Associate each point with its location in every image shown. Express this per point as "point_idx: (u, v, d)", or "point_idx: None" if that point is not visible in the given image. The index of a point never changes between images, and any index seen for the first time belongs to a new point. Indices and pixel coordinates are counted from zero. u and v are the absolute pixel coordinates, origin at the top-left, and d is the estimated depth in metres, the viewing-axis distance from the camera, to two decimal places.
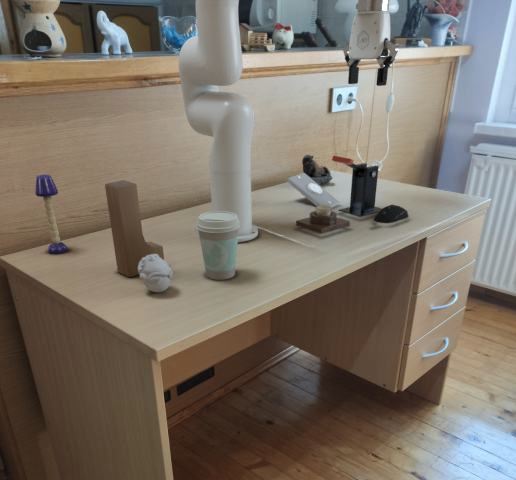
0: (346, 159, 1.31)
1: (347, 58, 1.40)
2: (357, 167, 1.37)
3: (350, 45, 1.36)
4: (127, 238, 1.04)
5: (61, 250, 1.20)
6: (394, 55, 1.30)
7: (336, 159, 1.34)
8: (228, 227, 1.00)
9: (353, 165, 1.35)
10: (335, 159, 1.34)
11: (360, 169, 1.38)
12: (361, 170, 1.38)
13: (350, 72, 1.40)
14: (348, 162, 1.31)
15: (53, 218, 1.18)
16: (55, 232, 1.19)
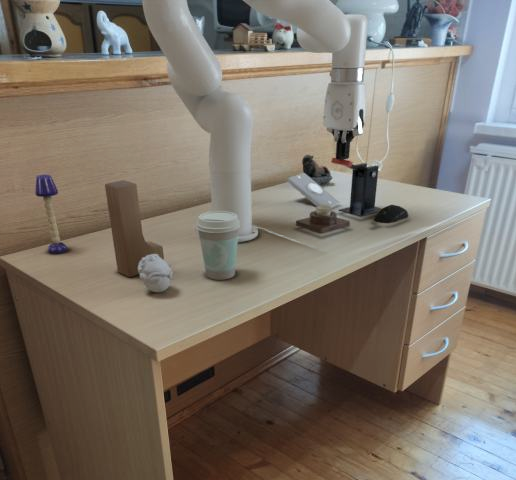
0: (345, 161, 1.32)
1: None
2: (357, 168, 1.37)
3: (324, 114, 1.29)
4: (127, 238, 1.04)
5: (61, 250, 1.20)
6: None
7: (336, 161, 1.34)
8: (228, 227, 1.00)
9: (353, 166, 1.36)
10: (335, 161, 1.34)
11: (360, 170, 1.38)
12: (361, 170, 1.38)
13: (338, 147, 1.31)
14: (347, 164, 1.31)
15: (53, 218, 1.18)
16: (55, 232, 1.19)
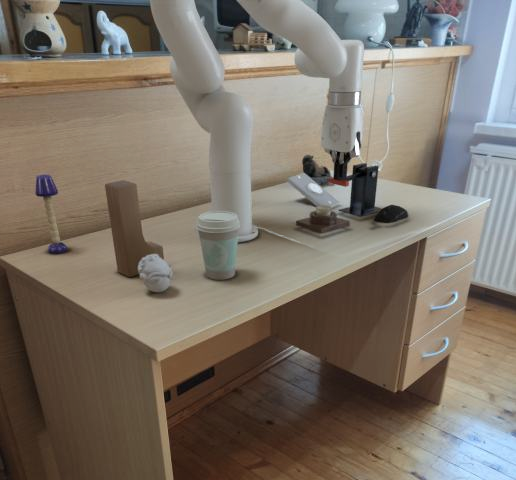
0: (341, 182, 1.34)
1: (332, 153, 1.33)
2: (355, 176, 1.38)
3: (322, 135, 1.31)
4: (127, 238, 1.04)
5: (61, 250, 1.20)
6: None
7: (333, 182, 1.36)
8: (228, 227, 1.00)
9: (351, 178, 1.37)
10: (332, 182, 1.36)
11: (359, 175, 1.38)
12: (360, 175, 1.39)
13: (335, 168, 1.33)
14: (344, 185, 1.33)
15: (53, 218, 1.18)
16: (55, 232, 1.19)
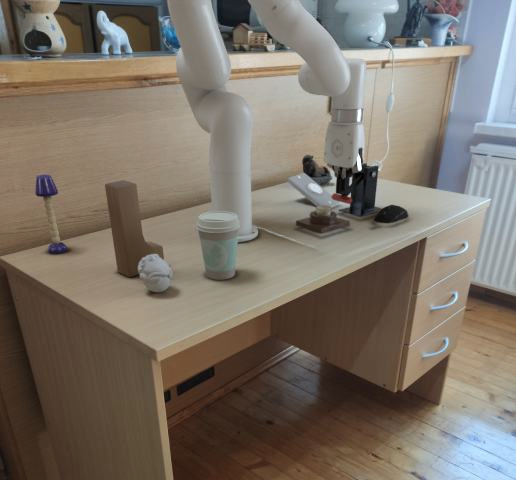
0: (344, 200, 1.37)
1: None
2: (356, 183, 1.39)
3: (325, 150, 1.34)
4: (127, 238, 1.04)
5: (61, 250, 1.20)
6: (355, 172, 1.32)
7: (336, 199, 1.39)
8: (228, 227, 1.00)
9: (352, 188, 1.39)
10: (335, 199, 1.39)
11: (360, 180, 1.39)
12: (361, 179, 1.39)
13: (338, 183, 1.35)
14: (348, 203, 1.37)
15: (53, 218, 1.18)
16: (55, 232, 1.19)
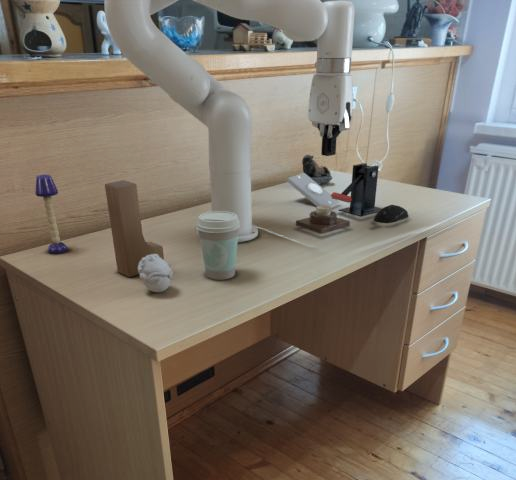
0: (344, 199, 1.36)
1: (320, 127, 1.24)
2: (356, 183, 1.39)
3: (309, 107, 1.22)
4: (127, 238, 1.04)
5: (61, 250, 1.20)
6: (342, 130, 1.20)
7: (336, 198, 1.39)
8: (228, 227, 1.00)
9: (352, 187, 1.38)
10: (335, 198, 1.39)
11: (359, 180, 1.39)
12: (361, 179, 1.39)
13: (323, 143, 1.24)
14: (347, 202, 1.36)
15: (53, 218, 1.18)
16: (55, 232, 1.19)
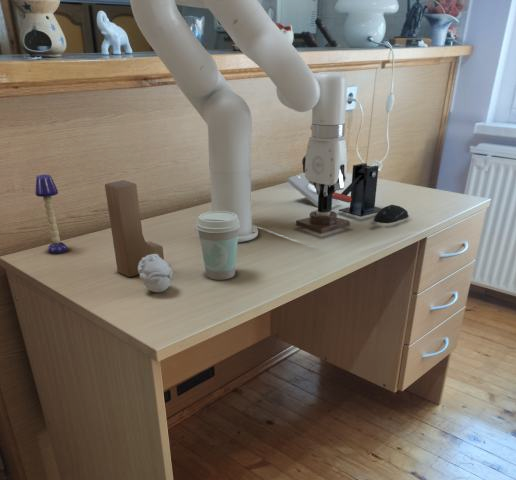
0: (344, 199, 1.36)
1: None
2: (356, 183, 1.39)
3: (306, 167, 1.28)
4: (127, 238, 1.04)
5: (61, 250, 1.20)
6: None
7: (336, 198, 1.39)
8: (228, 227, 1.00)
9: (352, 187, 1.38)
10: (335, 198, 1.39)
11: (359, 180, 1.39)
12: (361, 179, 1.39)
13: (319, 200, 1.29)
14: (347, 202, 1.36)
15: (53, 218, 1.18)
16: (55, 232, 1.19)
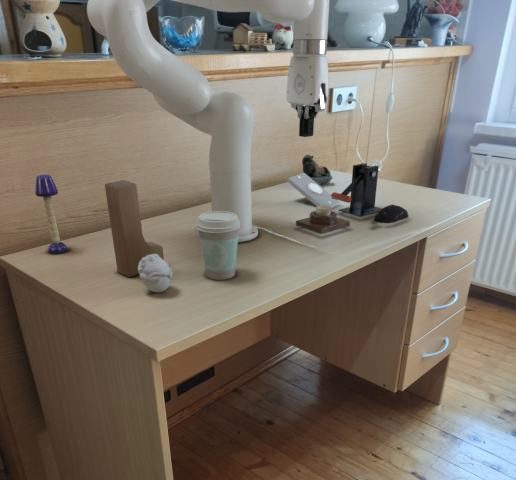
0: (344, 199, 1.36)
1: None
2: (356, 183, 1.39)
3: (287, 88, 1.25)
4: (127, 238, 1.04)
5: (61, 250, 1.20)
6: (318, 111, 1.23)
7: (336, 198, 1.39)
8: (228, 227, 1.00)
9: (352, 187, 1.38)
10: (335, 198, 1.39)
11: (359, 180, 1.39)
12: (361, 179, 1.39)
13: (301, 124, 1.27)
14: (347, 202, 1.36)
15: (53, 218, 1.18)
16: (55, 232, 1.19)
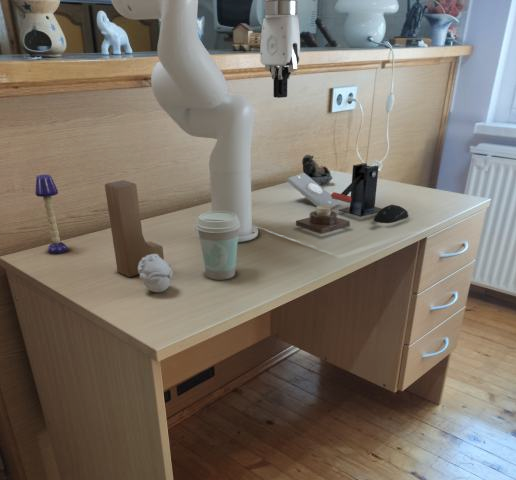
0: (344, 199, 1.36)
1: None
2: (356, 183, 1.39)
3: (261, 50, 1.30)
4: (127, 238, 1.04)
5: (61, 250, 1.20)
6: (291, 71, 1.28)
7: (336, 198, 1.39)
8: (228, 227, 1.00)
9: (352, 187, 1.38)
10: (335, 198, 1.39)
11: (359, 180, 1.39)
12: (361, 179, 1.39)
13: (275, 85, 1.31)
14: (347, 202, 1.36)
15: (53, 218, 1.18)
16: (55, 232, 1.19)
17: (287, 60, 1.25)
